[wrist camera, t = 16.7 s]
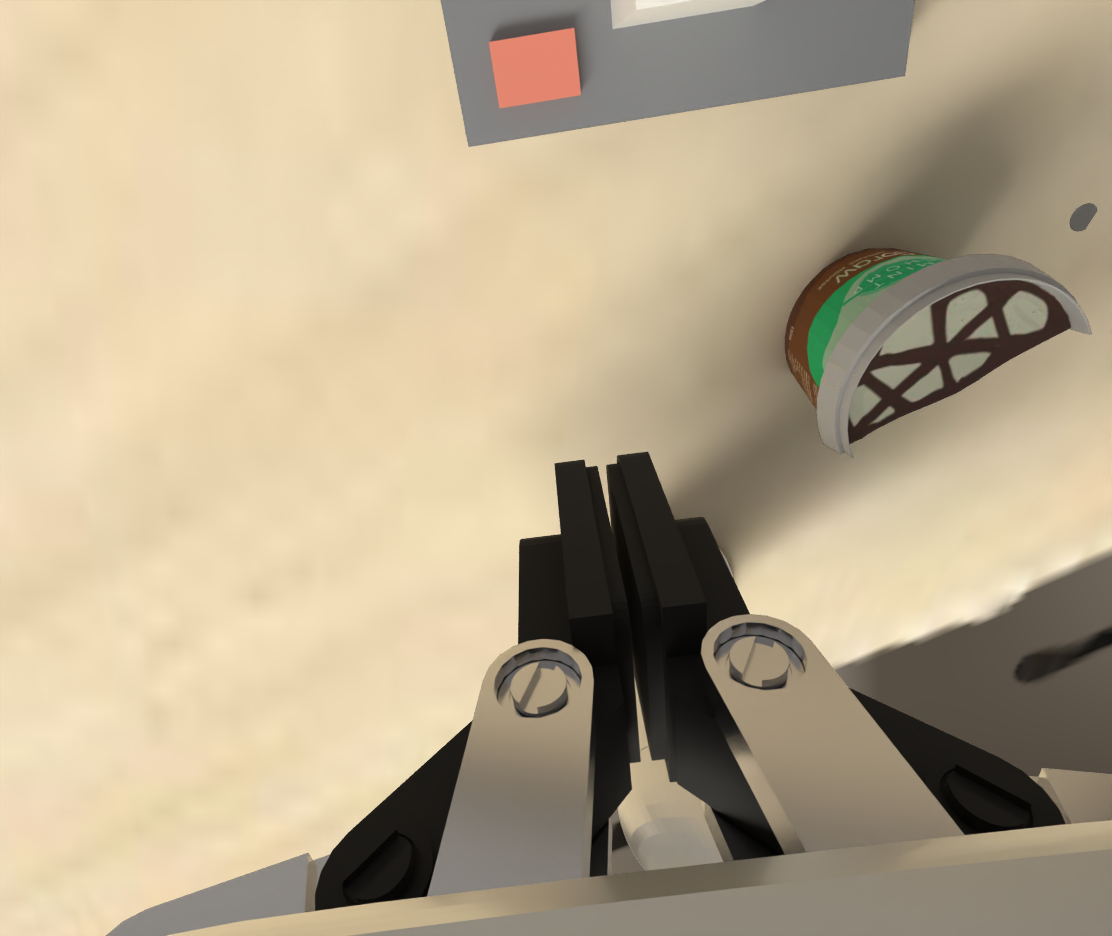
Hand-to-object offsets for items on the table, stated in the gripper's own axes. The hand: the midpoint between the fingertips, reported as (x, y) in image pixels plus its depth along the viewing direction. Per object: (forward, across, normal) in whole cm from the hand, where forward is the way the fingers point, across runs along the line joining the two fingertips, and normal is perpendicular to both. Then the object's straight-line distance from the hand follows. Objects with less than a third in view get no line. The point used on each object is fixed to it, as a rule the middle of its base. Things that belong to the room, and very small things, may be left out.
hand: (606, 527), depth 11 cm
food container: (+27, -17, +4) cm, 32 cm away
